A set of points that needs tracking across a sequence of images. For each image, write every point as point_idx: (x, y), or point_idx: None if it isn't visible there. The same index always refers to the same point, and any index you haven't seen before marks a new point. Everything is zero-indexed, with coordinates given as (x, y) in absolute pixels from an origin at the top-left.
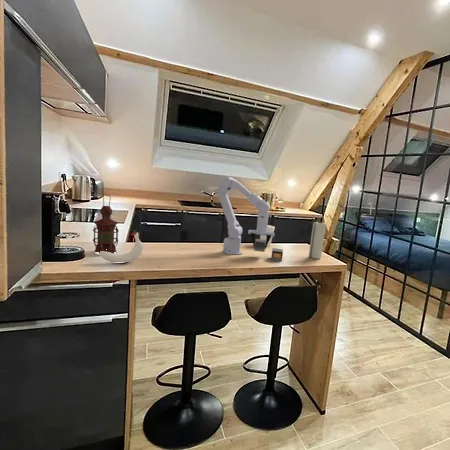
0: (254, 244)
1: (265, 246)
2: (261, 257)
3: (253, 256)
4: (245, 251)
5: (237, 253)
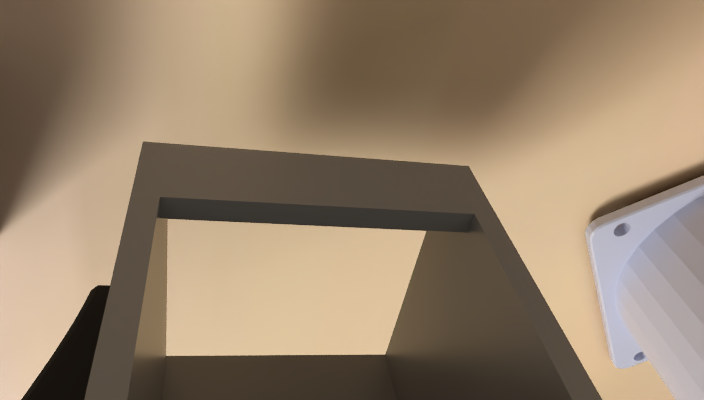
0: None
1: None
2: None
3: None
4: None
5: (698, 190)
